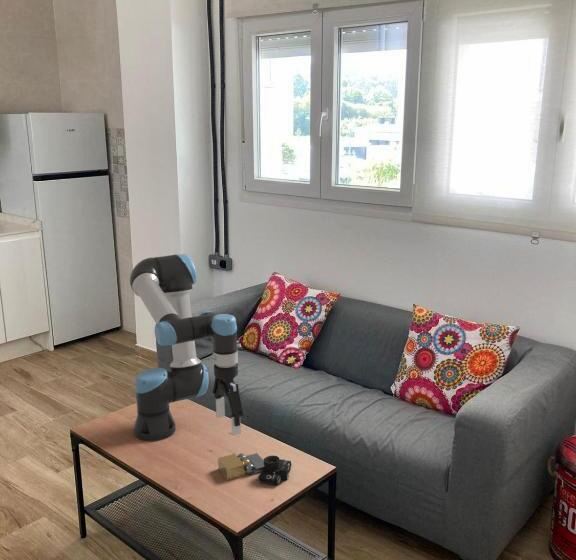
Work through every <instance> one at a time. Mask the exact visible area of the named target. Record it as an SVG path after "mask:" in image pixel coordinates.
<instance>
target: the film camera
mask: <svg viewBox="0 0 576 560" xmlns="http://www.w3.org/2000/svg"><path fill="white" fill-rule="evenodd" d="M263 460H264V467H263V470H262V472H259V475H258V477H257V478H258V482H259V483H262V484H271V485H277V486H278V485H279V484H280V483H281V482H282V481H287V480H288V479H289V478H290V472H291V470H292V469H291V468H292V465H293V464H292V460H288V459H287V460H286V459H285V458H284V459H282V458H280V457H279V456H277V455H269V456H268V455H267V456H266V457H264V458H263Z"/></svg>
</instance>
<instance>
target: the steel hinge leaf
mask: <svg viewBox="0 0 576 560" xmlns="http://www.w3.org/2000/svg"><path fill="white" fill-rule="evenodd" d="M236 456H237V457H238V458H239V459H240V460H241V461H242V459H244V458H247V459H248V460H249V461H250V462H251V463H247V464H246V465H245V466H244V472H246V473H247V474H248V475H249V476H251V475H256V474H260V473H261V472H262V470H263V467H264V458H262V457H261V456H260V455H259V453H258V452H256V453H252V454H248V455H245V454H244V453H239V454H238V455H236Z"/></svg>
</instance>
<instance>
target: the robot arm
mask: <svg viewBox="0 0 576 560" xmlns="http://www.w3.org/2000/svg"><path fill="white" fill-rule="evenodd" d="M197 277H198V275H197V270H196V267H195V264H194V261H193V260H192V258H191V257H190V256H189V255H188V254H183V253H182V254H181V253H180V254H171V255H169V254H168V255H164V256H163V255H162V256H154V257H147V258H145V259H142V260H141V261H139V262H138V263H137V264H136V265H135V266H134V268H133V269H132V270H131V273H130V277H129V285H130V287H131V290H132V292H133V293H134V294H135V295H136V296H137V297H139V298H140V299H141V301H142V302H143V305H144V306H145V307H146V310H147V312H149V314H150V316H151V318H152V319H153V321H154V322H155V325H154V337H155V339H156V343H157V344H158V345H159V346H162V347H163V346H165V347H166V346H171V350H172V358H173V359H172V360H173V361H171V363H170V364H169V367H170V369H169V370H167V369H165V368H164V367H152V368H148V369H145V370H143V371H142V372H140V373H139V374H138V375H137V376H136V377H135V382H134V386H135V387H134V391H135V399H136V413H137V415H136V419H135V422H134V426H133V433H134V436H135V438H137V439H139V440H141V441H146V442H152V441H160V440H164V439H167V438H170V436H172V435H174V433H175V432H176V428H177V427H176V422H175V420H174V419H175V418H174V417H173V415H172V412H171V410H170V404H173V403H175V402H180V401H185V400H189V399H197V397H201V396H203V395H205V394H206V393H207V390H208V387H209V372H208V369H207V366H206V365H205V364H203V363H202V361H201V359H199V358H198V357H197V352H196V351H197V350H196V344H195V343H196V341H199V340H206V339H210V340H211V341H212V352H213V353H212V354H213V355H211V358H212V360H213V375H214V383H213V387H212V388H213V389H212V395H214V398H215V409H216V410H215V411H216V418H218V419H219V418H223V417H226V410H225V409H226V407H225V405H226V404H225V397H227V401H228V404H229V408H230V411H231V415H230V419H231V422H230V423H231V435H232V436H236V435H241V433H242V431H241V429H242V428H241V417H244V412H243V411H244V410H243V406H242V401H241V395H240V391H239V384H238V383H237V384H236V382H235V380H234V379H235V378H236V377H237V376H238V374H239V365H238V363H239V362H238V361H239V354H238V334H237V332H238V326H237V319H236V317H235V316H234V315H232V314H229V313H221V314H218V313H216V312H213V311H212V310H204V311H202V312H201V313H200V314H198V315H196V316H192V315H193V314H192V307H191V300H190V293H191V292H192V291H193V285H196V283H197V281H198V280H197Z"/></svg>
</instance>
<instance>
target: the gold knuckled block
mask: <svg viewBox="0 0 576 560" xmlns="http://www.w3.org/2000/svg"><path fill="white" fill-rule="evenodd" d="M237 456H238V455H236V453H232V454H228V455H224V456H220V457H218V458H217V464H218V465H217V467H218V470H219V471H220V473H221V475H222V476H223V477H224V478H225V479H226V481H231V480H234V479H238V478H242V477H245V476H246V475H245V469H244V466H245V465H246V464H247V463H251V462H250V461H249V460H248V459H247V458H244V459H242V461H241V460H240V459H239V458H238V457H237Z"/></svg>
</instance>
